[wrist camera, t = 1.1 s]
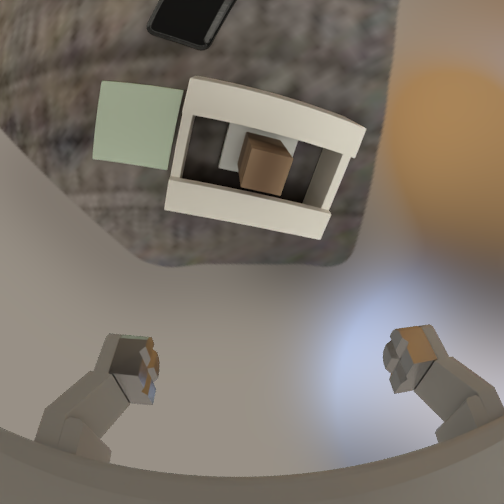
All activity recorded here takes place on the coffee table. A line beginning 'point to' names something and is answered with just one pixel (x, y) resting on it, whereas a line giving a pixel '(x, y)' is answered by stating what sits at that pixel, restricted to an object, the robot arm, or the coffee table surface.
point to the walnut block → (263, 164)
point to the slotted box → (271, 125)
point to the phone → (189, 21)
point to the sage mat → (136, 123)
